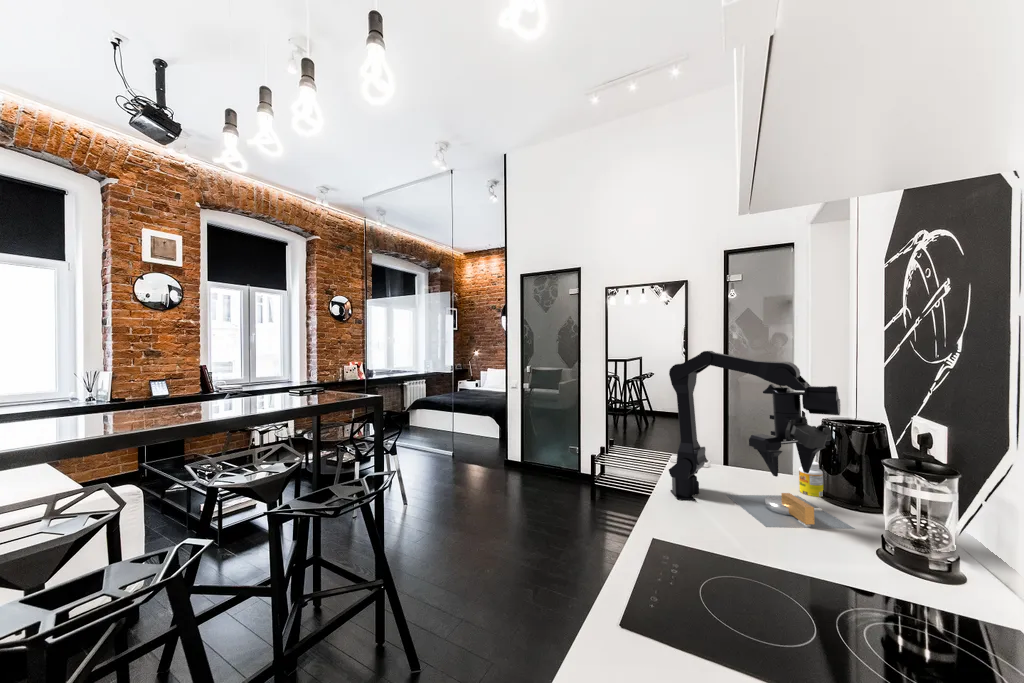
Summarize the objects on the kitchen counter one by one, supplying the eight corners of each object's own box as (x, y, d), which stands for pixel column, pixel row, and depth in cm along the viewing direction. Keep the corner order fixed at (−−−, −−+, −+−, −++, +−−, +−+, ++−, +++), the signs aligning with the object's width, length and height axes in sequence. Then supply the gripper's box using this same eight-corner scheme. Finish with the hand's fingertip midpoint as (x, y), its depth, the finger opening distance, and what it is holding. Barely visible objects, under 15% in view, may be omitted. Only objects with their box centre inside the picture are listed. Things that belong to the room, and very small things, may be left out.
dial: (759, 503, 105) (758, 485, 105) (789, 503, 104) (789, 486, 104) (792, 527, 91) (791, 507, 91) (827, 527, 90) (827, 507, 90)
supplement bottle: (797, 492, 115) (795, 458, 115) (819, 495, 113) (818, 460, 113) (803, 499, 110) (801, 464, 110) (827, 502, 108) (825, 466, 108)
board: (766, 532, 91) (766, 525, 91) (726, 499, 111) (725, 493, 111) (855, 533, 90) (854, 526, 90) (798, 499, 110) (797, 494, 110)
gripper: (784, 419, 86) (788, 489, 86) (850, 414, 90) (855, 480, 89) (745, 412, 97) (749, 474, 97) (806, 408, 101) (810, 467, 100)
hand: (790, 474), depth 96 cm, fingers open, 9 cm apart
